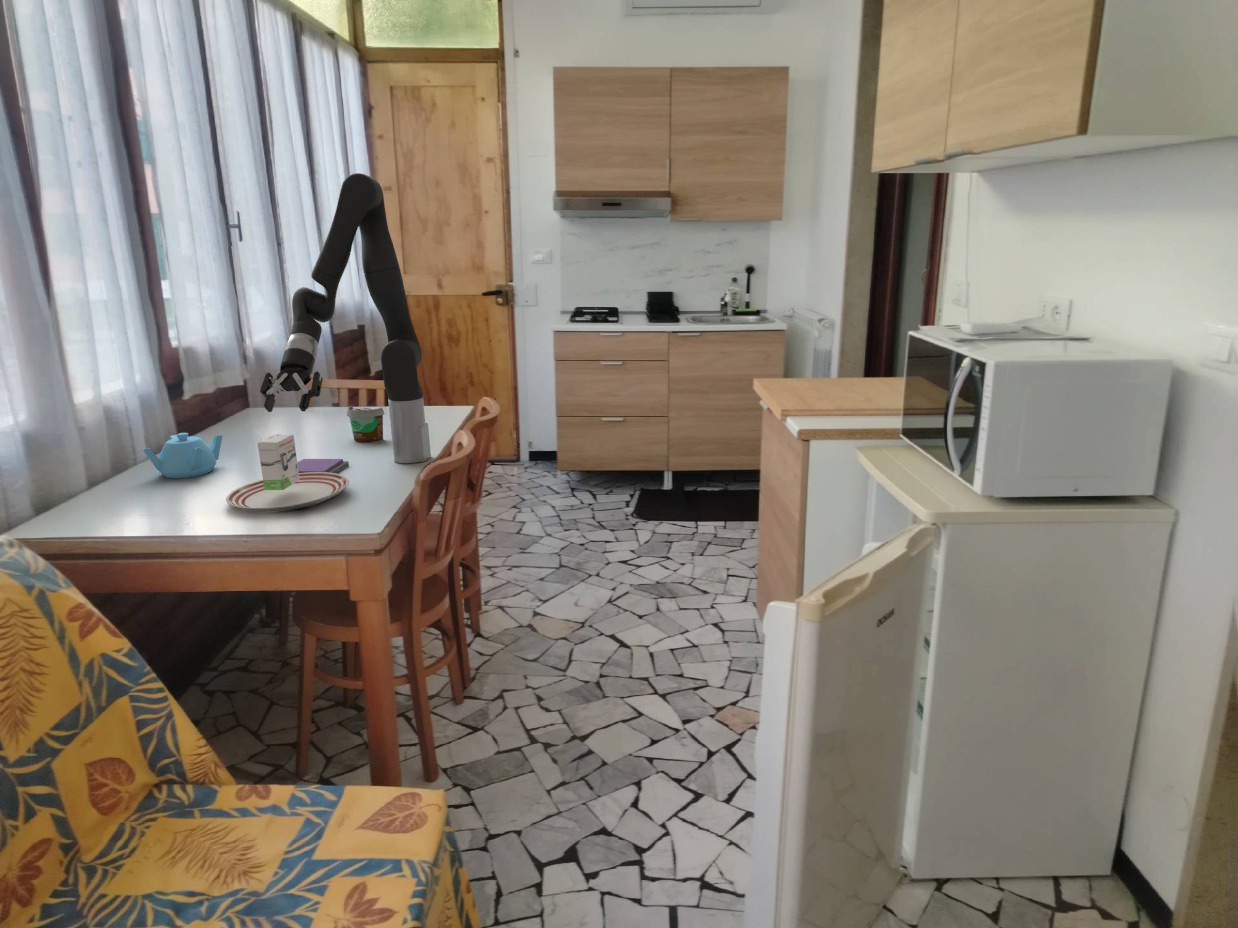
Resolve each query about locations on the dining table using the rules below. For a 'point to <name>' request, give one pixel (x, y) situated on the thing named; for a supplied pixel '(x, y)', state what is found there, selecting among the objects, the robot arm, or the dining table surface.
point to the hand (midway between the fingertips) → (285, 410)
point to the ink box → (278, 461)
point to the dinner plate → (289, 493)
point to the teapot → (186, 456)
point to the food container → (366, 424)
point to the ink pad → (322, 465)
